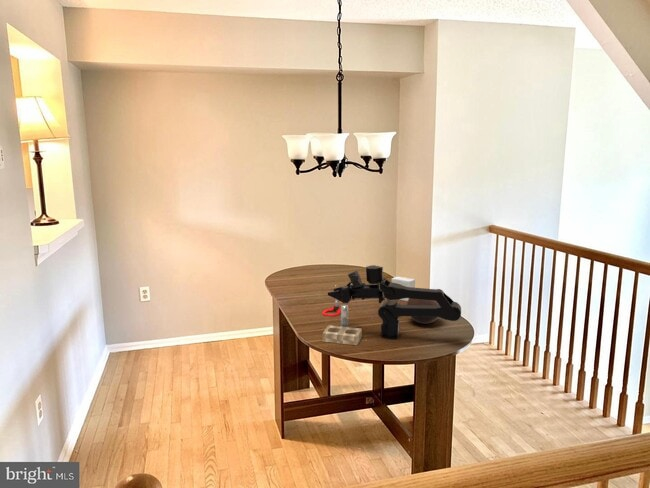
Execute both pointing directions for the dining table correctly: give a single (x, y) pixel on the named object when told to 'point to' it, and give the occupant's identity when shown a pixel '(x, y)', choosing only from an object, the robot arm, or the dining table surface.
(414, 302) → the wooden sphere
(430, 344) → the dining table surface
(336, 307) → the tow hook
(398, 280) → the skincare box
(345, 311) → the metal pin
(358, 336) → the pin block
